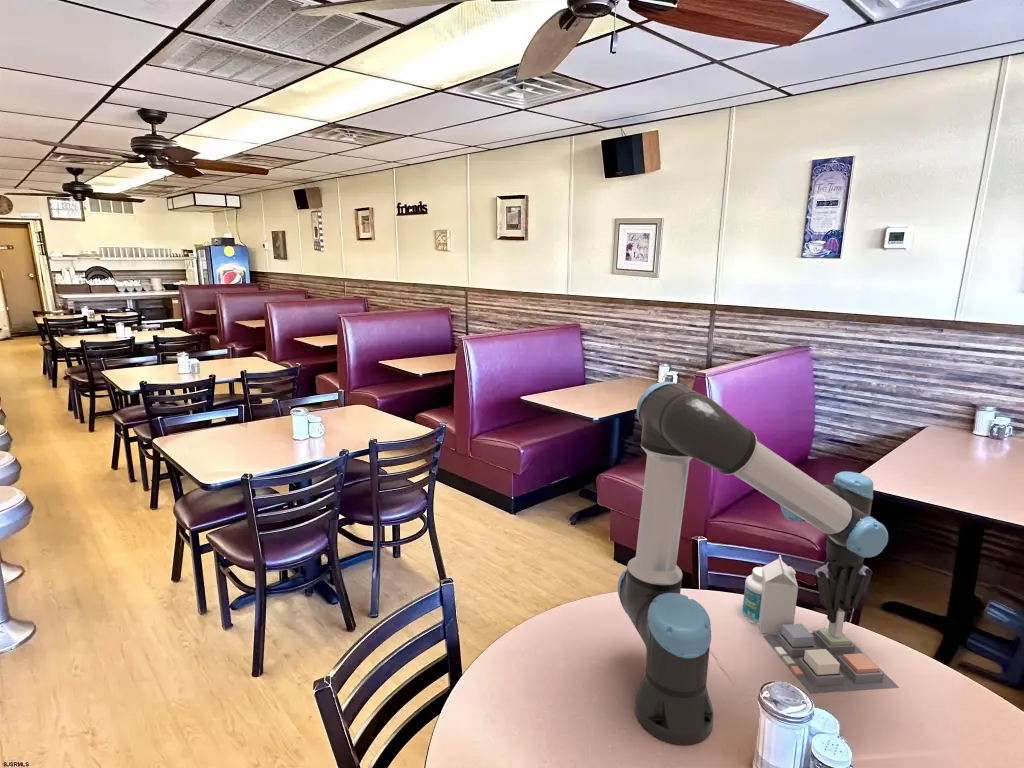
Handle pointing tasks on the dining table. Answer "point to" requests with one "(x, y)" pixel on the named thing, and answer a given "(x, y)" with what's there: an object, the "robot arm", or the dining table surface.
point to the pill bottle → (753, 595)
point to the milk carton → (777, 597)
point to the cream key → (821, 661)
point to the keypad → (827, 682)
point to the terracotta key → (860, 663)
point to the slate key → (797, 635)
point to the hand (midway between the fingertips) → (834, 633)
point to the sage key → (833, 638)
